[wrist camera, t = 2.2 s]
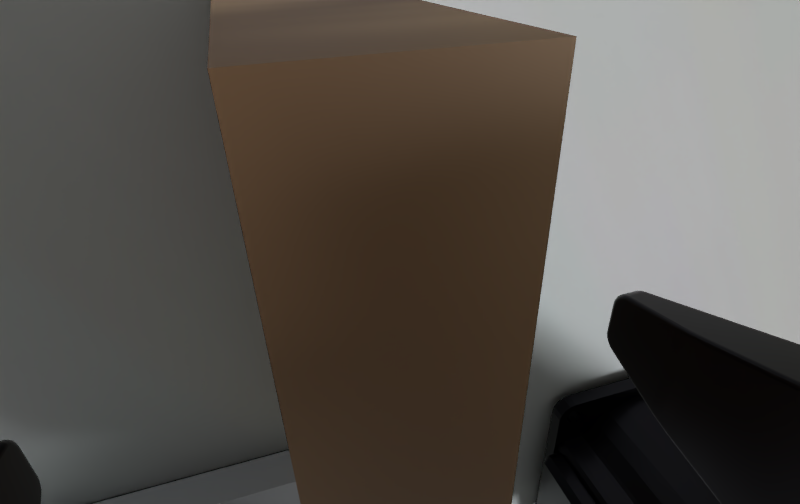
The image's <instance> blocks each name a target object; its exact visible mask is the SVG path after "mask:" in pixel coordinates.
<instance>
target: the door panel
mask: <svg viewBox="0 0 800 504" xmlns="http://www.w3.org/2000/svg"><path fill="white" fill-rule="evenodd" d="M575 43H576V36H573V35H568V34H564V33H560V32H555V31H551V30H547V29H542V28H538V27H534V26H529V25H525V24H521V23H516V22H512V21H508V20H504V19H499V18H495V17H491V16H486V15H482V14H478V13H473V12H469V11H465V10H460V9H456V8H452V7H447V6H443V5H439V4H435V3H430V2H426V1H422V0H211V8H210V27H209V46H208V65H207V69H208V74H209V78H210V83H211V88H212V92H213V97H214V102H215V106H216V111H217V116H218V121H219V125H220V130H221V135H222V139H223V144H224V149H225V153H226V158H227V163H228V167H229V172H230V177H231V181H232V186H233V191H234V195H235V200H236V205H237V209H238V214H239V219H240V223H241V228H242V233H243V237H244V242H245V247H246V251H247V256H248V261H249V265H250V270H251V275H252V279H253V284H254V289H255V293H256V298H257V303H258V308H259V312H260V317H261V322H262V326H263V331H264V336H265V340H266V345H267V350H268V354H269V359H270V364H271V368H272V373H273V378H274V382H275V387H276V392H277V396H278V401H279V406H280V410H281V415H282V420H283V424H284V429H285V434H286V438H287V443H288V448H289V452H290V457H291V462H292V466H293V471H294V476H295V480H296V485H297V490H298V495H299V499H300V504H511V503H512V496H513V489H514V482H515V474H516V467H517V460H518V453H519V446H520V438H521V431H522V424H523V417H524V410H525V402H526V395H527V388H528V381H529V374H530V366H531V359H532V352H533V345H534V338H535V330H536V323H537V316H538V309H539V302H540V294H541V287H542V280H543V273H544V266H545V259H546V251H547V244H548V237H549V230H550V223H551V215H552V208H553V201H554V194H555V187H556V179H557V172H558V165H559V158H560V151H561V143H562V136H563V129H564V122H565V115H566V107H567V100H568V93H569V86H570V79H571V71H572V64H573V57H574V50H575Z"/></svg>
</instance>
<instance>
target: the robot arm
mask: <svg viewBox="0 0 800 504" xmlns="http://www.w3.org/2000/svg"><path fill="white" fill-rule="evenodd" d="M607 338H608V342H609V345H610V347H611V349H612V350H613V352H614V353H615V355H616V357H617V358H618V360H619V361H620V363H621V365H622V366H623V368H624V369H625V371H626V372H627V374H628V376H629V377H630V378H629V379H626V380H622V381H619V382H615V383H612V384H608V385H605V386H601V387H598V388H594V389H591V390H587V391H584V392H580V393H577V394H573V395H570V396H567V397H565V398H563V399H561V400H560V401H559V402H558V403H557V404H556V405H555V406H554V409H553V412H552V418H551V423H550V429H549V434H548V440H547V445H546V451H545V457H544V462H543V468H542V473H541V479H540V484H539V490H538V496H537V501H536V504H800V345H799V344H796V343H793V342H791V341H788V340H785V339H782V338H779V337H776V336H773V335H770V334H767V333H764V332H761V331H758V330H755V329H752V328H749V327H746V326H744V325H741V324H738V323H735V322H732V321H729V320H726V319H723V318H720V317H717V316H714V315H711V314H708V313H705V312H702V311H699V310H697V309H694V308H691V307H688V306H685V305H682V304H679V303H676V302H673V301H670V300H667V299H664V298H661V297H658V296H655V295H652V294H650V293H647V292H643V291H635V292H631V293H627V294H622V295H620V296H618V297H617V298H616V300H615V302H614V305H613V309H612V314H611V318H610V322H609V327H608V331H607ZM0 504H41V484H40V481H39V479H38V476H37V475H36V473H35V472H34V470H33V468H32V467H31V465H30V464H29V462H28V460H27V459H26V457H25V456H24V454H23V452H22V451H21V449H20V448H19V446H18V445H17V444H16V443H15V442H14V441H11V440H2V441H0Z"/></svg>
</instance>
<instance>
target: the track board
mask: <svg viewBox="0 0 800 504" xmlns="http://www.w3.org/2000/svg"><path fill="white" fill-rule="evenodd" d="M93 504H300V499H299V495H298V490H297V485H296V480H295V476H294V471H293V466H292V462H291V457H290V452H289V450H287V451H284V452H280V453H276V454H273V455H269V456H265V457H262V458H258V459H254V460H251V461H247V462H243V463H240V464H236V465H232V466H229V467H225V468H221V469H218V470H214V471H210V472H207V473H203V474H199V475H196V476H192V477H188V478H185V479H181V480H177V481H174V482H170V483H166V484H163V485H159V486H155V487H152V488H148V489H144V490H141V491H137V492H133V493H130V494H126V495H122V496H119V497H115V498H111V499H108V500H104V501H100V502H97V503H93Z"/></svg>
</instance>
